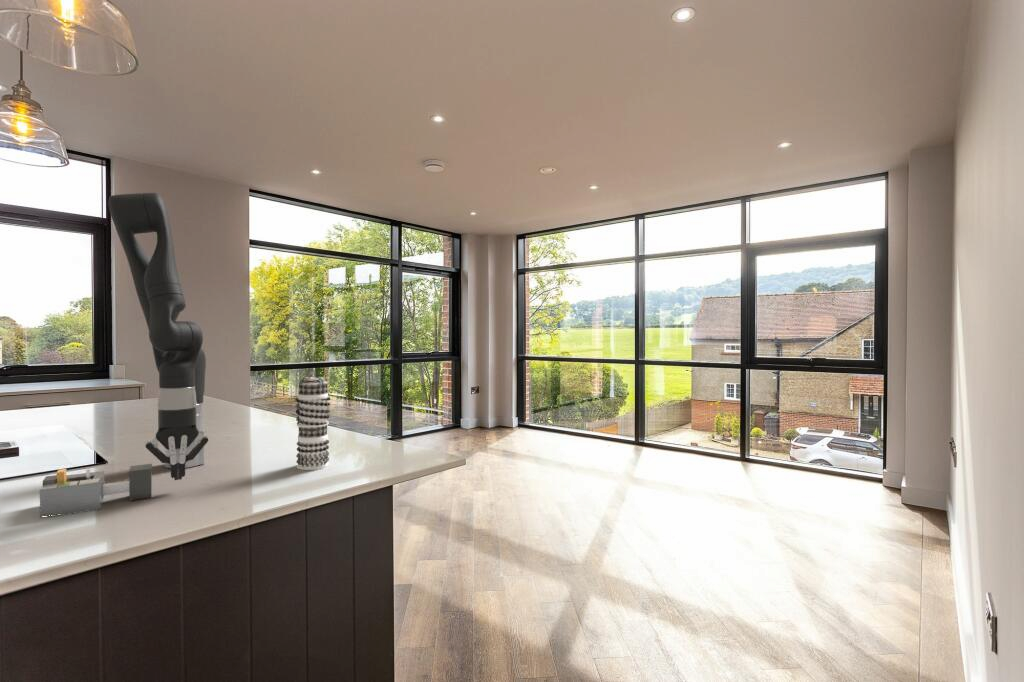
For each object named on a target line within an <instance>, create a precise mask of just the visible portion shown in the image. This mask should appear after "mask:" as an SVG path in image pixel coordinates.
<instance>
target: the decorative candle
mask: <svg viewBox="0 0 1024 682" xmlns="http://www.w3.org/2000/svg"><path fill="white" fill-rule="evenodd" d="M328 384H329V382H328V381H326V379H325V378H324V377H323V376H306V377H302V378H301V379H300V380H299V382H297V385H298V394H297V397H295V398H294V401H296V404H295V409H296V411H295V414H296V415H297V416H296V418H295V420H296V426H297V427H298V435H297V442H296V446H297V447H296V451H297V452H298V453H297V454H296V458H297V459H296V463H297V465H296V468H297V470H302V471H315V470H320V469H325V468H328V466H329V464H330V463H329V460H330V457H329V456H330V452H329V448H330V446H329V444H330V440H329V438H328V436H329V435H328V425H329V424H330V423H329V421H328V419H329V418H331V417H330V415H329V413H330V411H331V410H329V409H328V408H327V407H329V406H331V402H329V401H330V400H331V397H329V395H328Z"/></svg>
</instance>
